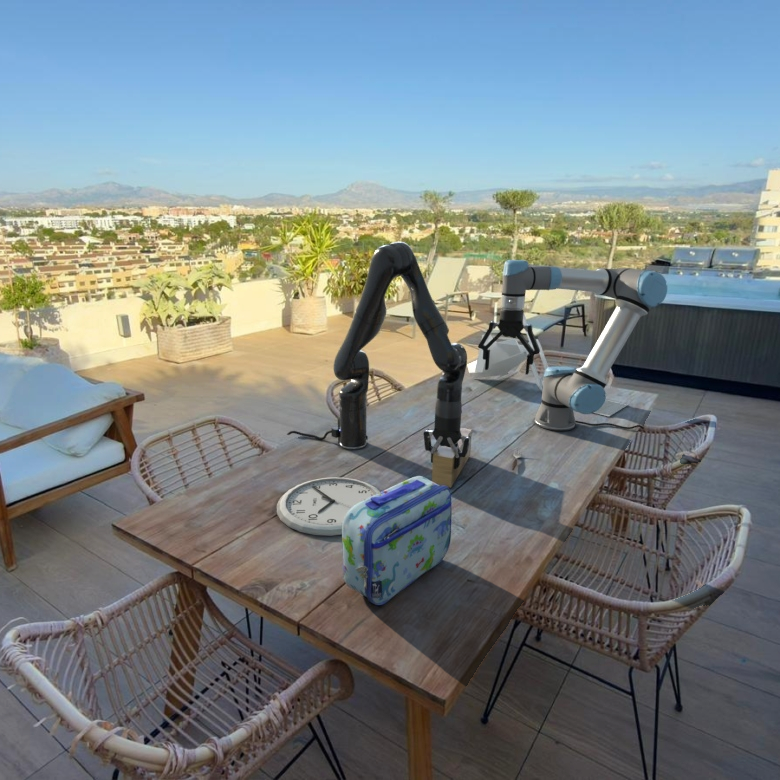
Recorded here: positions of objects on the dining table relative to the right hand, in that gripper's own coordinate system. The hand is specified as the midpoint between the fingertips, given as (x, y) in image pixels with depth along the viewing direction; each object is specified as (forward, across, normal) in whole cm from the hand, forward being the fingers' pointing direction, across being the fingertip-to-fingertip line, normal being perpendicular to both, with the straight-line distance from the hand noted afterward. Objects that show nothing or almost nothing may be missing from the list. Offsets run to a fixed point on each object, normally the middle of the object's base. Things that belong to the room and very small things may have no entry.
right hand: (506, 371), depth 177 cm
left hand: (+22, -10, -36) cm, 43 cm away
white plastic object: (+27, -11, +74) cm, 80 cm away
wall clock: (+27, -34, -62) cm, 75 cm away
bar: (+26, -10, -27) cm, 39 cm away
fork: (+27, +7, -13) cm, 31 cm away
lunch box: (+27, -7, -83) cm, 87 cm away
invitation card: (+27, +33, +59) cm, 73 cm away
